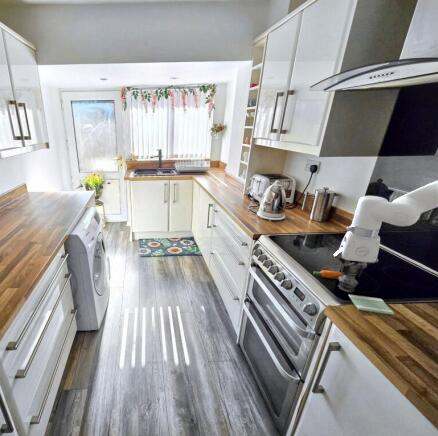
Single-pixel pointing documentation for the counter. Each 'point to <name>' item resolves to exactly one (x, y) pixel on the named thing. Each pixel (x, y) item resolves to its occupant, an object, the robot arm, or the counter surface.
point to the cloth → (371, 304)
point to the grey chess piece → (349, 279)
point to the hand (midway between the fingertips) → (350, 273)
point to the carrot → (329, 274)
